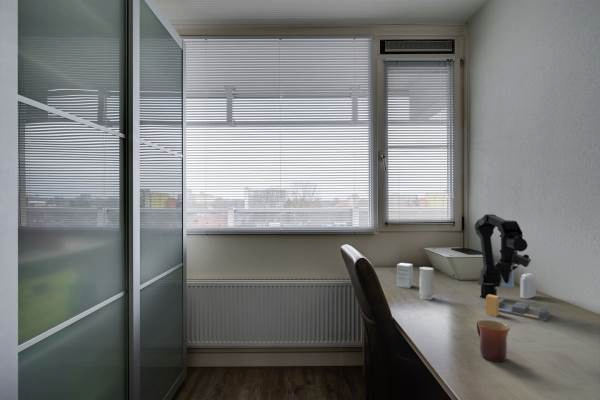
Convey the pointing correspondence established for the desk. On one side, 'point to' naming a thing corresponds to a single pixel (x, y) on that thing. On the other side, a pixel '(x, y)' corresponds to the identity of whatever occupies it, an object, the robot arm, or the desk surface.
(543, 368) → the desk surface
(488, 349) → the mug
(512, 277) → the blue plug
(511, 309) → the grey slotted base
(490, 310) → the tan rectangular box
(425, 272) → the candle
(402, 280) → the supplement box
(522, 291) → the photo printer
